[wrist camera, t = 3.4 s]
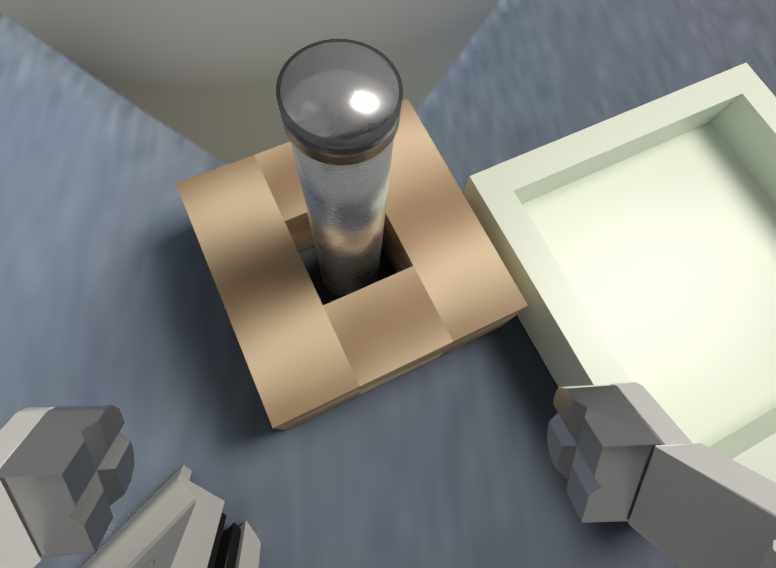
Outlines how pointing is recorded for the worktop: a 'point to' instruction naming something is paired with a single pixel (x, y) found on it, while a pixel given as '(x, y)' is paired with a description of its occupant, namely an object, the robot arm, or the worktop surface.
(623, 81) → the worktop surface
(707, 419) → the sage tray
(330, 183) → the steel pin
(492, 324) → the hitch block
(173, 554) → the grey slotted holder
